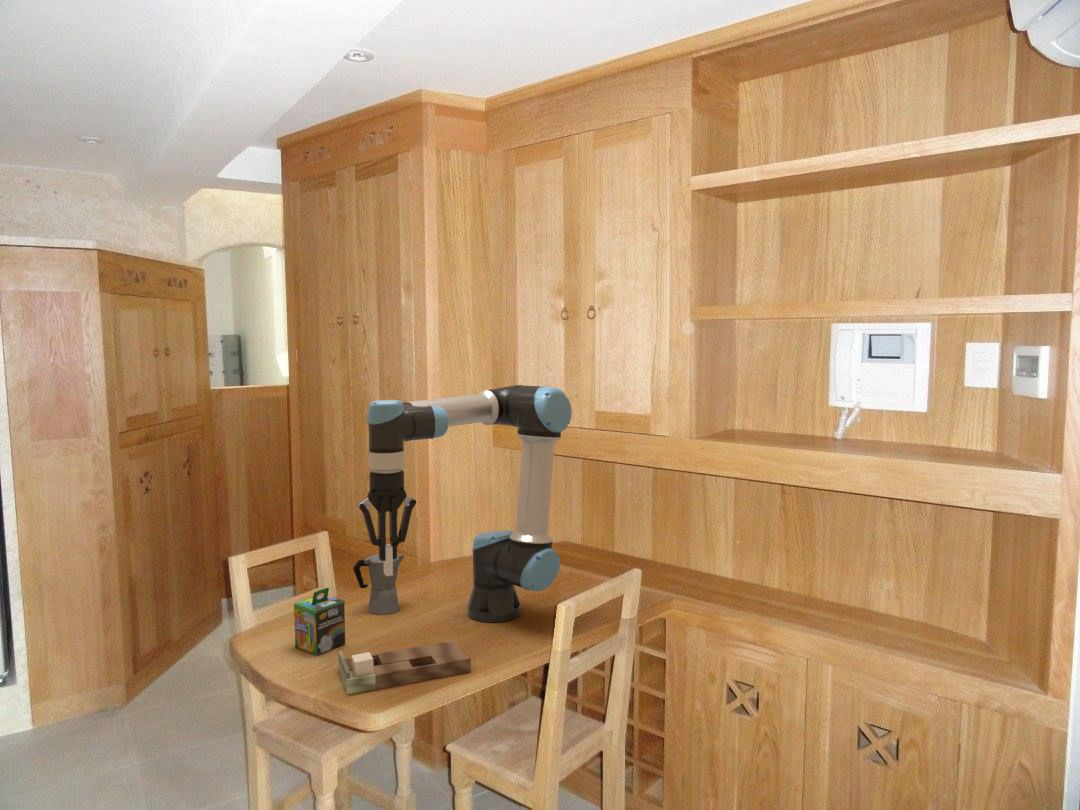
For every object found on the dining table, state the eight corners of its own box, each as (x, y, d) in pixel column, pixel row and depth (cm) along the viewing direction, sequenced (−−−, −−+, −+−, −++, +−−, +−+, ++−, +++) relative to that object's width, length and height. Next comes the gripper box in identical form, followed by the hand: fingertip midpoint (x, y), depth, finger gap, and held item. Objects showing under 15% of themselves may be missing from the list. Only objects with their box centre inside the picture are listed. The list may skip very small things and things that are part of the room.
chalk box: (323, 635, 194) (322, 580, 193) (346, 644, 189) (345, 587, 187) (293, 647, 186) (291, 589, 185) (316, 656, 181) (315, 597, 180)
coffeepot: (397, 600, 221) (397, 540, 219) (412, 609, 213) (411, 547, 212) (348, 611, 212) (346, 549, 210) (361, 621, 204) (360, 556, 203)
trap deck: (454, 650, 185) (453, 633, 184) (470, 671, 173) (470, 653, 172) (338, 670, 173) (338, 651, 173) (347, 694, 162) (347, 674, 161)
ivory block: (370, 668, 169) (369, 651, 168) (374, 676, 165) (373, 658, 165) (352, 672, 167) (351, 655, 167) (355, 680, 164) (354, 662, 163)
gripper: (411, 465, 171) (412, 566, 173) (353, 469, 166) (355, 572, 168) (419, 470, 164) (421, 575, 166) (360, 474, 159) (361, 582, 161)
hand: (388, 574), depth 167 cm, fingers closed
